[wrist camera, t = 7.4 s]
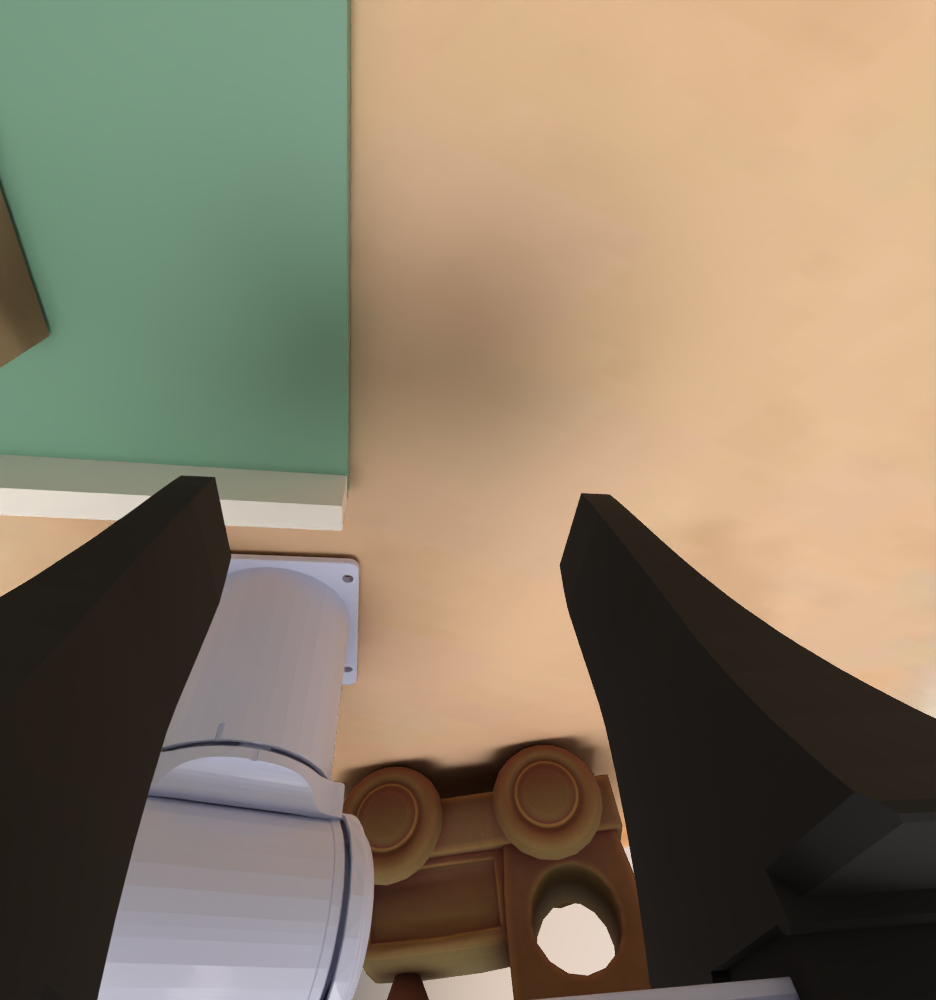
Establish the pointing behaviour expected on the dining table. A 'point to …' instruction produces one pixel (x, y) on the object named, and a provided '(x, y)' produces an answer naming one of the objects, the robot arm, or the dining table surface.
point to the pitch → (179, 255)
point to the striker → (16, 297)
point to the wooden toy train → (496, 876)
